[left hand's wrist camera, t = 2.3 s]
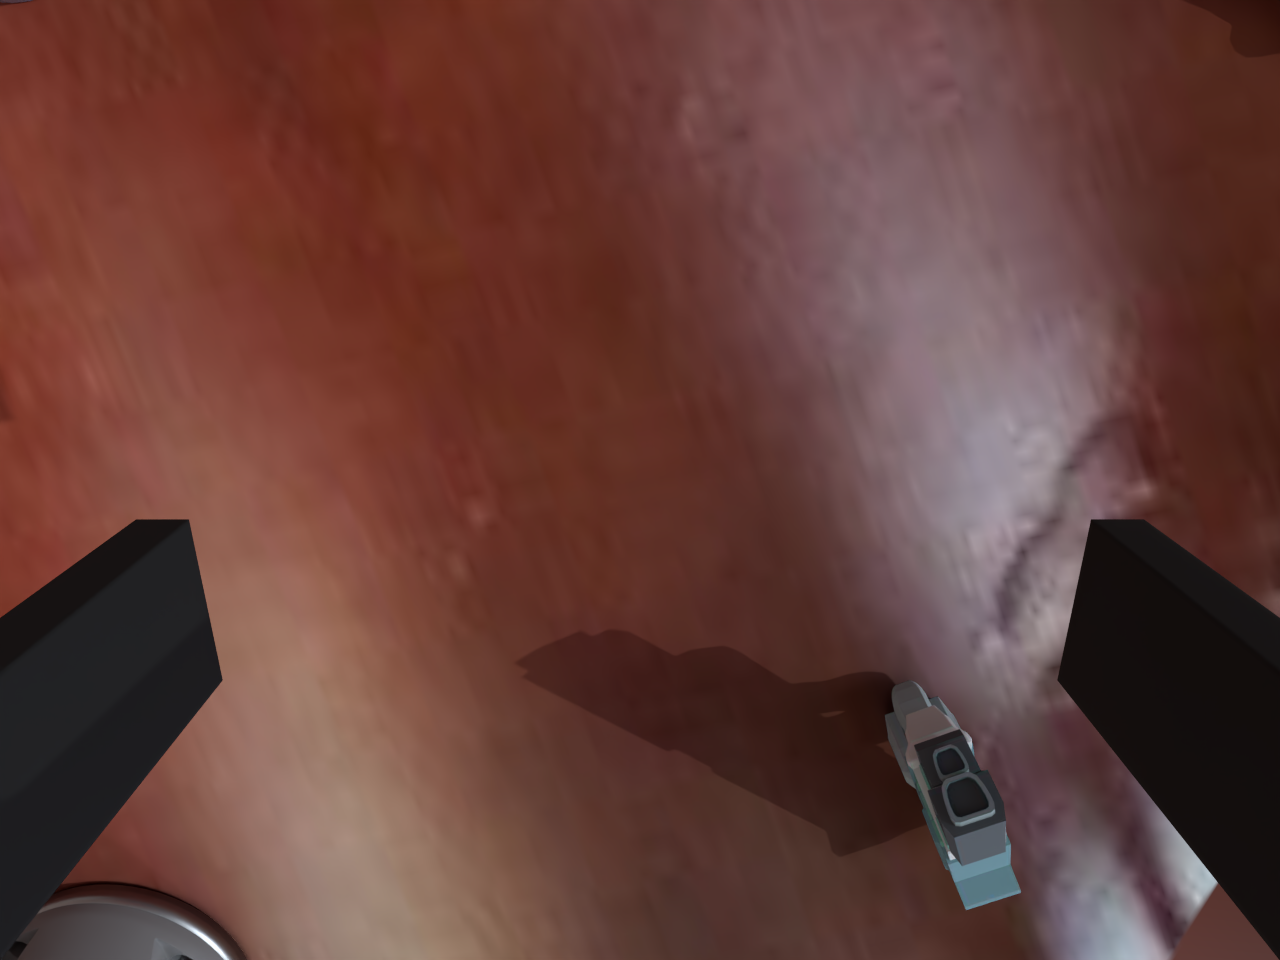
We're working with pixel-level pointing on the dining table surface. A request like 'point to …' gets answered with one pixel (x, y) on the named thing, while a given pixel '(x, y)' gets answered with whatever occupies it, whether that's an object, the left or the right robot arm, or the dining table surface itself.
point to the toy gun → (953, 795)
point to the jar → (13, 1)
